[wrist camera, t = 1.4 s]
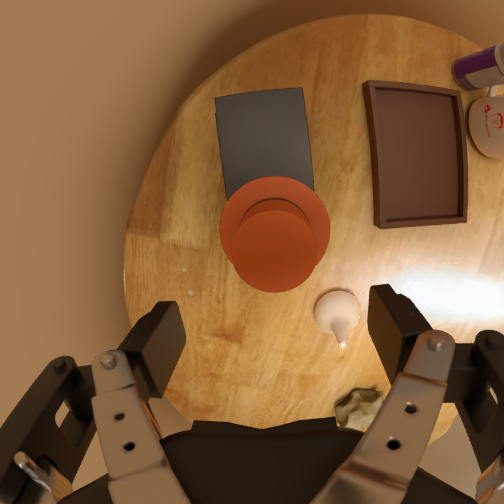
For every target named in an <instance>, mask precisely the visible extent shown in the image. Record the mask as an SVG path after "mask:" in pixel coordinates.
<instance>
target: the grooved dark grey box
mask: <svg viewBox="0 0 504 504" xmlns="http://www.w3.org/2000/svg"><path fill="white" fill-rule="evenodd" d="M215 106H216V113H215V116H216V124H217V132H218V139H219V147H220V154H221V162H222V169H223V176H224V183H225V191H226V198H227V202H228V200H229V199H230V197H231V196H232V195H233V194H234V193H235V192H236V191H237V190H238V189H239V188H240V187H242V186H243V185H245V184H246V183H248V182H250V181H252V180H254V179H257V178H261V177H266V176H284V177H289V178H292V179H295V180H297V181H299V182H301V183H303V184H305V185H306V186H308V187H309V188H310V189H311V190H312V191H313V192H315V191H314V180H313V169H312V159H311V150H310V141H309V132H308V124H307V117H306V109H305V102H304V95H303V88H302V87H300V88H286V89H274V90H265V91H256V92H248V93H241V94H234V95H228V96H222V97H216V98H215Z"/></svg>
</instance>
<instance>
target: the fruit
mask: <svg viewBox="0 0 504 504" xmlns="http://www.w3.org/2000/svg"><path fill="white" fill-rule="evenodd" d="M383 402H384V400H383V398H382V396H380V395H379V394H378V393H377V392H376V391H374V390H369V389H359V390H356V391H354V392H352V393H351V394H350V395H349V396H348V397H347V398H345V399H344V401H343V402H341V403H340V404H339V405H338V406H337V408H336V419H337V422H338V423H339V424H340V426H342V427H348V428H353V429H356V430H361V429H363V428H368V427H369V426H370V424H371V422H372V421H373V419H374V417H375V416H376V414H377V412H378V411H379V409H380V407H381V405H382V404H383Z"/></svg>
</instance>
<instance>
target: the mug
mask: <svg viewBox="0 0 504 504" xmlns="http://www.w3.org/2000/svg"><path fill="white" fill-rule="evenodd" d="M497 89H498V85H495V86H490V88H489V91H488V94H487V96H486V97H484V98H480V99H478V100H476V101H475V102H474V103H473V105H472V106H471V109H470V112H469V129H470V133H471V136H472V139H473V141H474V143H475V145H476V147H477V148H478V149H479V151H480V152H481V153H482V154H484V155H485V156H487V157H489V158H492V159H498V160H504V95H497V96H496V92H497Z"/></svg>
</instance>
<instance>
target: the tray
mask: <svg viewBox="0 0 504 504" xmlns="http://www.w3.org/2000/svg"><path fill="white" fill-rule="evenodd" d="M362 86H363V92H364V99H365V106H366V113H367V121H368V129H369V138H370V149H371V161H372V176H373V196H374V225H375V226H377V227H378V228H379V229H389V228H402V227H415V226H428V225H442V224H456V223H467V207H468V160H467V143H466V131H465V122H464V113H463V106H462V100H461V93H460V91H457V90H452V89H447V88H441V87H434V86H427V85H420V84H411V83H402V82H390V81H374V80H367V81H366V82H365V83H363V84H362Z"/></svg>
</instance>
